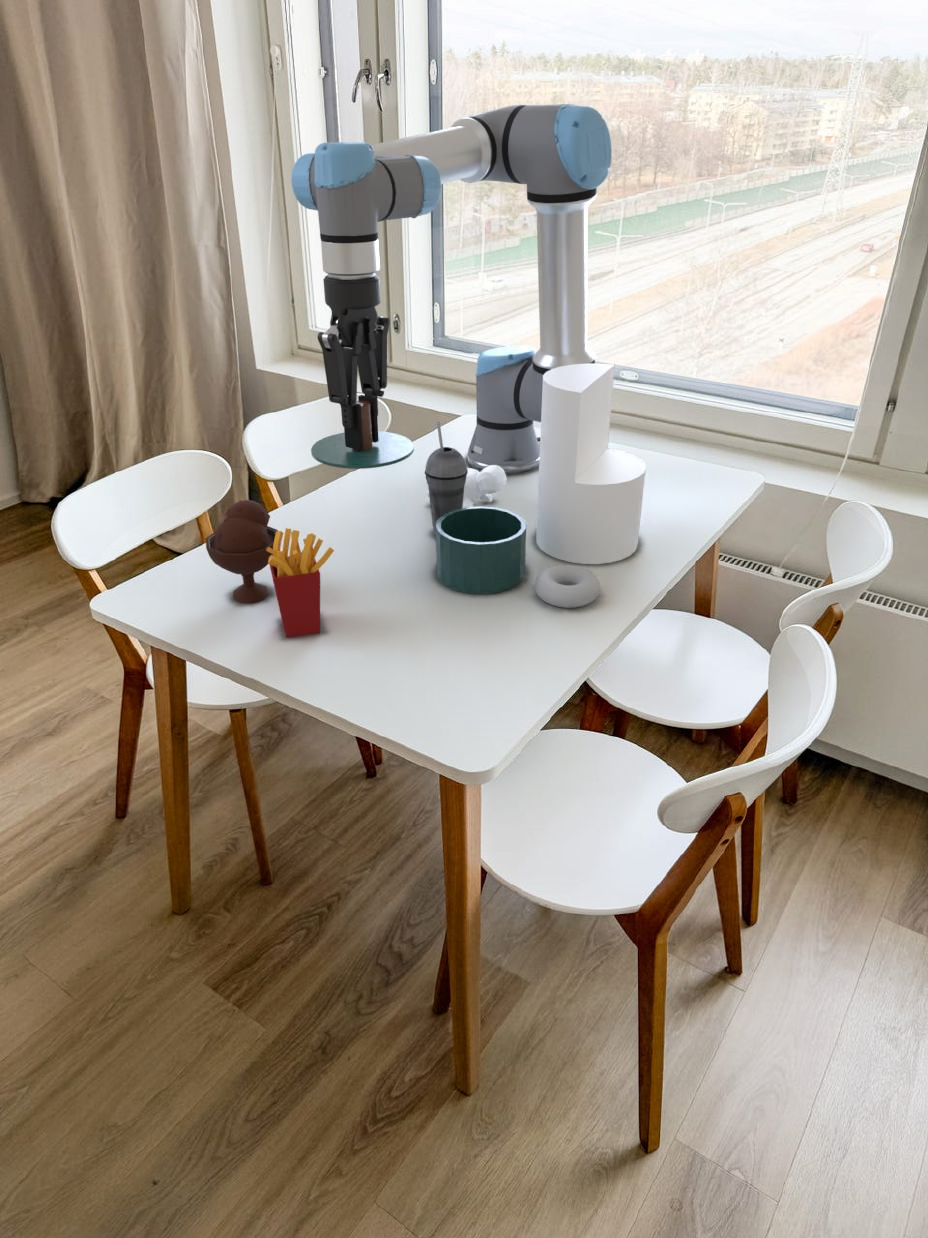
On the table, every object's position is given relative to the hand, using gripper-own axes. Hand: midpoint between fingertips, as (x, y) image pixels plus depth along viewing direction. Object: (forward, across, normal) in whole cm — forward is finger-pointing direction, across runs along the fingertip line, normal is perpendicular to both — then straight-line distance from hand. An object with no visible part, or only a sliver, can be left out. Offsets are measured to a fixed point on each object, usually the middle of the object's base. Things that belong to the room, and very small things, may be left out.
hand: (362, 443), depth 128 cm
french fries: (+22, +16, +1) cm, 28 cm away
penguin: (+22, -32, -1) cm, 38 cm away
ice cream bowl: (+22, +14, -12) cm, 29 cm away
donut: (+22, -10, +30) cm, 38 cm away
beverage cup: (+22, -20, +2) cm, 30 cm away
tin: (+22, -10, +14) cm, 28 cm away
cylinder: (+22, -29, +24) cm, 44 cm away
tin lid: (+1, 0, 0) cm, 1 cm away
